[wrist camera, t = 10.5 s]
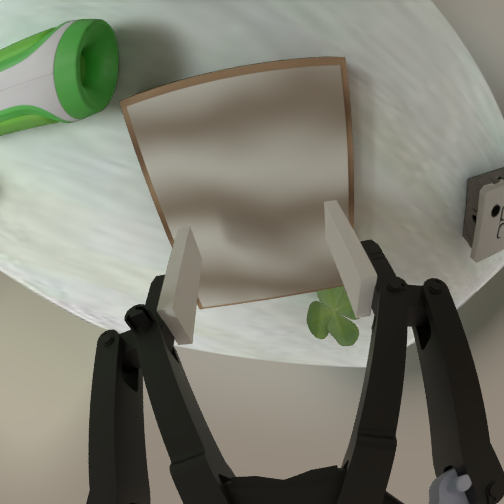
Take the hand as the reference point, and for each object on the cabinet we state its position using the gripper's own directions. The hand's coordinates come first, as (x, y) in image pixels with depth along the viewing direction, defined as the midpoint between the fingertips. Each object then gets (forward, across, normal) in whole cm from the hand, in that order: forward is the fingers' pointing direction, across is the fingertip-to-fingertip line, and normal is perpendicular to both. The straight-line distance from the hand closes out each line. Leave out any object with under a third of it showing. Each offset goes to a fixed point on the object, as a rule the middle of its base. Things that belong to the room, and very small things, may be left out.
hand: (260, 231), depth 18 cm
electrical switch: (+7, +22, -6) cm, 24 cm away
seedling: (+7, +4, -18) cm, 20 cm away
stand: (+7, 0, 0) cm, 7 cm away
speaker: (+7, -16, +15) cm, 23 cm away
